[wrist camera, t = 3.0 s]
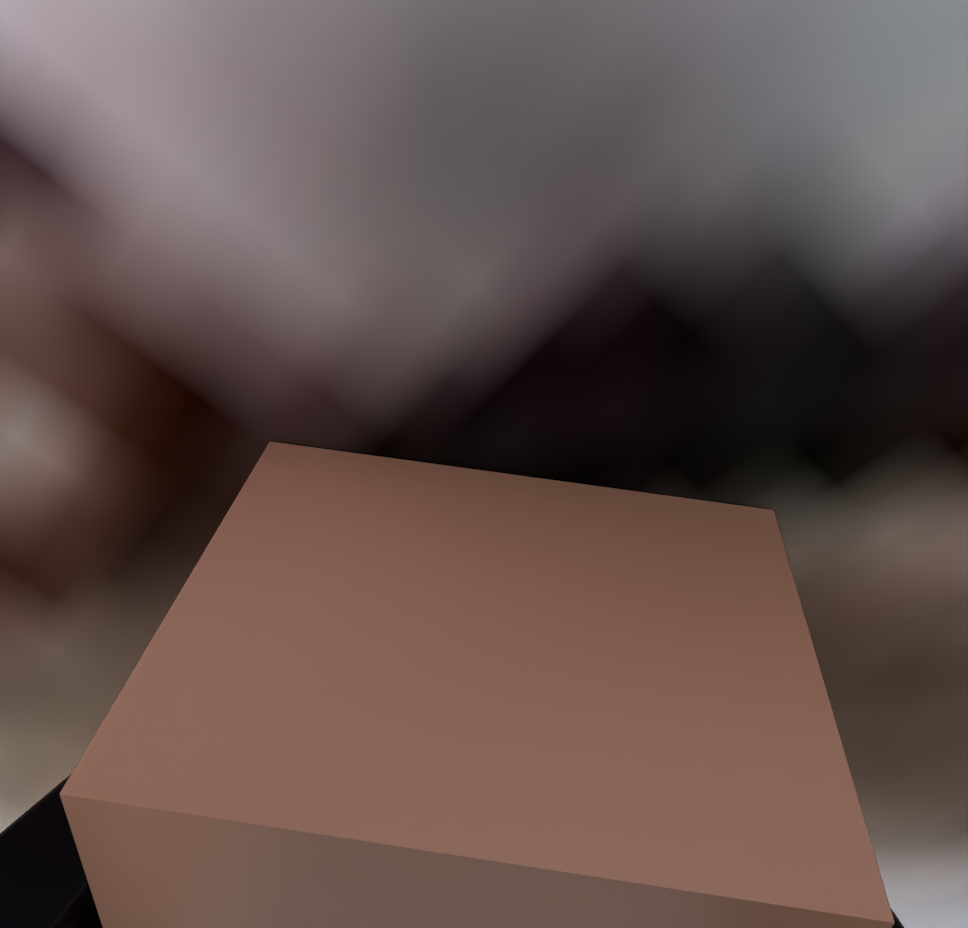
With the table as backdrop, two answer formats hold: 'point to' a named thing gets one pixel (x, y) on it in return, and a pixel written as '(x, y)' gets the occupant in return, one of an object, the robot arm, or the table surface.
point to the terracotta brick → (475, 718)
